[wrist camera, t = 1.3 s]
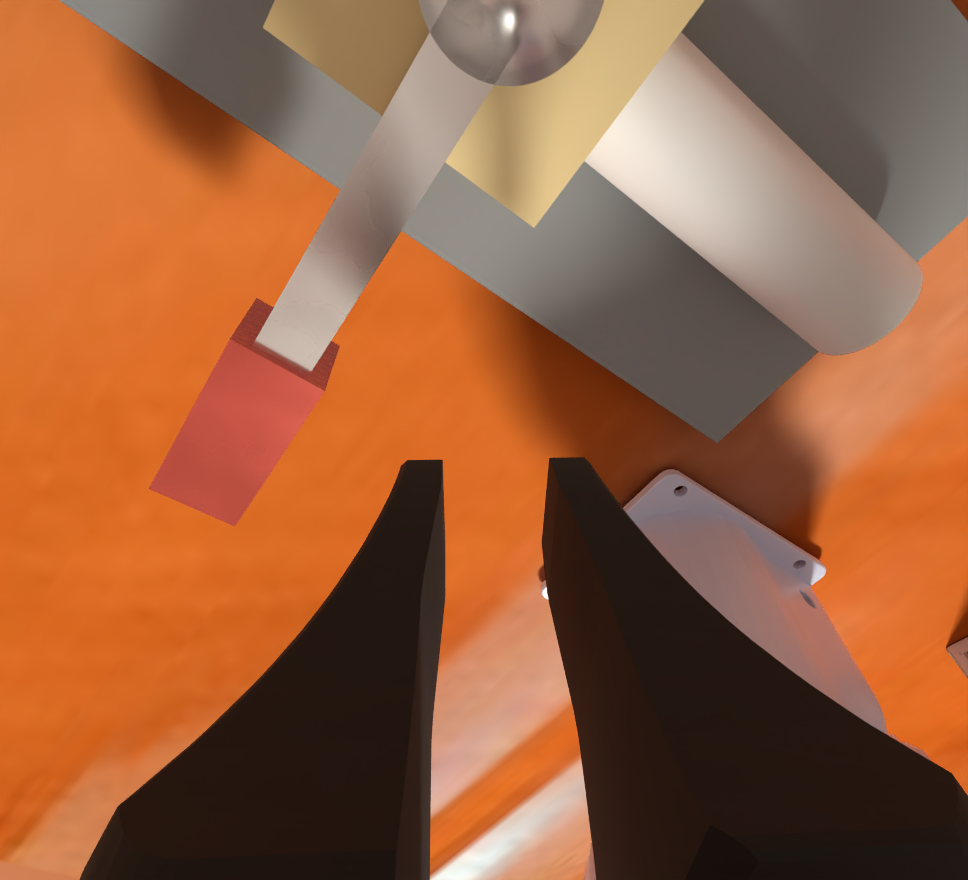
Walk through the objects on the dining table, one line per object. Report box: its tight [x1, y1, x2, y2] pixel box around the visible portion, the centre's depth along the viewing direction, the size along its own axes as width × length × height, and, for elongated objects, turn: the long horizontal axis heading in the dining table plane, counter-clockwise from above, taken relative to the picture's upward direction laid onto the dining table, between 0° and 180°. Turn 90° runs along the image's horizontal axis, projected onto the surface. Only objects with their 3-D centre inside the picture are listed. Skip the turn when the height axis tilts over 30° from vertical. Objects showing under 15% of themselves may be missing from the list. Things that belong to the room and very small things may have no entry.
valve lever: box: [149, 0, 604, 526], centre depth 12 cm, size 3×13×2 cm, turn 144°
